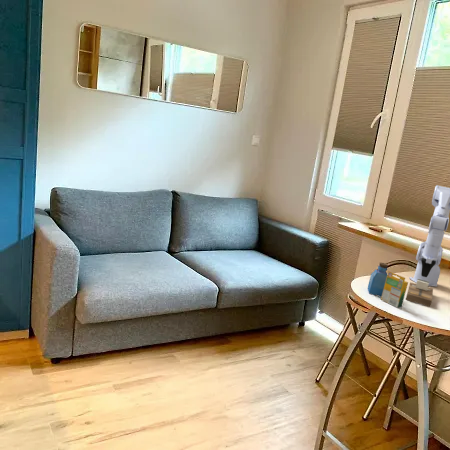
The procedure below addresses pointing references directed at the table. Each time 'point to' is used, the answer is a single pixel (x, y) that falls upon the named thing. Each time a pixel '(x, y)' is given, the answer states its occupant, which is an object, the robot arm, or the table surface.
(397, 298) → the crayon box
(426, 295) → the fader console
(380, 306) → the table surface
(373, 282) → the perfume bottle
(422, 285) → the fader knob
